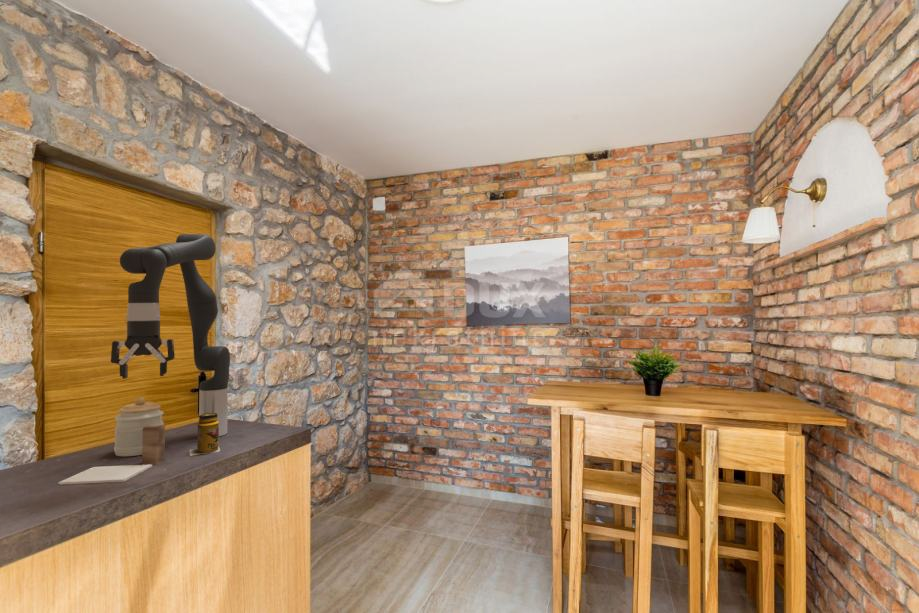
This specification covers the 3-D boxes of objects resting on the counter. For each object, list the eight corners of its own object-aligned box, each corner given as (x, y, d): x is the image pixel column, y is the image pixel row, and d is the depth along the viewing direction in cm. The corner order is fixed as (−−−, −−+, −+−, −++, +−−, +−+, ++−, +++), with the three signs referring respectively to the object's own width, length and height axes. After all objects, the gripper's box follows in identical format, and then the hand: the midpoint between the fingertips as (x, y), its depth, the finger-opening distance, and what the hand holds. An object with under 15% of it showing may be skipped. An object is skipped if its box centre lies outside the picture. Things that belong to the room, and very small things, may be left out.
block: (150, 460, 130) (151, 424, 130) (164, 460, 130) (165, 423, 131) (142, 464, 126) (142, 427, 126) (156, 464, 126) (157, 427, 127)
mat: (93, 468, 123) (93, 466, 123) (152, 466, 124) (152, 464, 124) (58, 484, 111) (58, 482, 111) (123, 481, 112) (124, 479, 112)
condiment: (220, 451, 138) (220, 414, 139) (189, 456, 134) (190, 418, 134) (218, 446, 144) (219, 411, 145) (189, 450, 140) (189, 414, 140)
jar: (103, 455, 135) (104, 400, 136) (144, 444, 148) (145, 393, 148) (133, 458, 132) (134, 401, 132) (172, 447, 144) (173, 394, 145)
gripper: (176, 318, 126) (176, 373, 125) (116, 319, 120) (116, 377, 119) (171, 319, 119) (171, 376, 119) (107, 320, 113) (107, 380, 113)
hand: (143, 376), depth 119 cm, fingers open, 8 cm apart
